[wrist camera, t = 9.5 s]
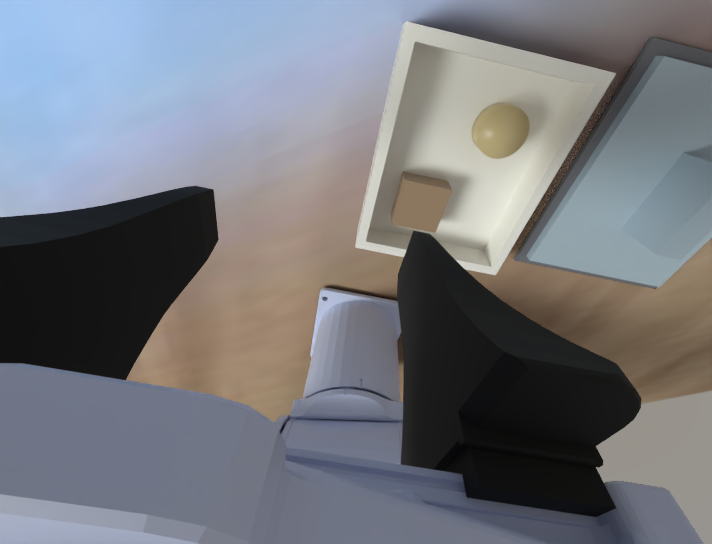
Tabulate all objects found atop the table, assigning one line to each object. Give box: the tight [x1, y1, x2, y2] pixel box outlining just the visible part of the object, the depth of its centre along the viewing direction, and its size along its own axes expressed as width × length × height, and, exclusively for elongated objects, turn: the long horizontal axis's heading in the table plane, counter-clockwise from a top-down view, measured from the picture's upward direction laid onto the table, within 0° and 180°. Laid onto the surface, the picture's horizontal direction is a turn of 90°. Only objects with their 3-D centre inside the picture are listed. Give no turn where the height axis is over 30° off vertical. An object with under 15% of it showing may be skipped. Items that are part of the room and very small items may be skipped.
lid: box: [526, 56, 712, 287], centre depth 18 cm, size 12×10×4 cm
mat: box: [514, 38, 712, 289], centre depth 19 cm, size 14×12×1 cm
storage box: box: [355, 21, 616, 275], centre depth 18 cm, size 12×10×3 cm
